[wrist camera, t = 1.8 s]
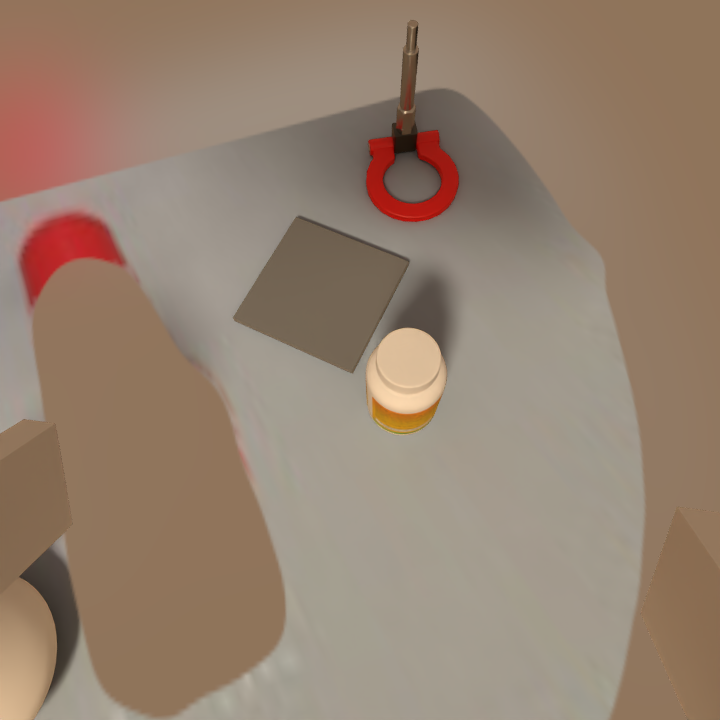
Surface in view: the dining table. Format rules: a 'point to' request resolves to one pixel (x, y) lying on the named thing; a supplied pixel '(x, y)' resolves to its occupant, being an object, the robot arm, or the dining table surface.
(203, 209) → the dining table surface
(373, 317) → the coaster
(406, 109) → the tow hook
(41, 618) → the flower in vase
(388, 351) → the supplement bottle
